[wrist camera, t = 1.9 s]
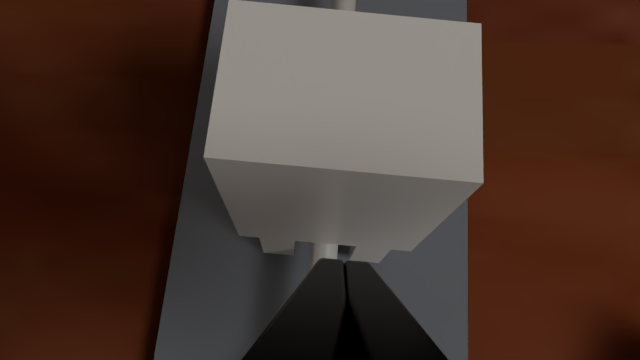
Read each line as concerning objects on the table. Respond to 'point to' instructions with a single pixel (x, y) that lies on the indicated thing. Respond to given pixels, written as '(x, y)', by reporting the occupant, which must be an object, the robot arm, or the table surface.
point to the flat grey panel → (289, 270)
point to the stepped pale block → (344, 126)
